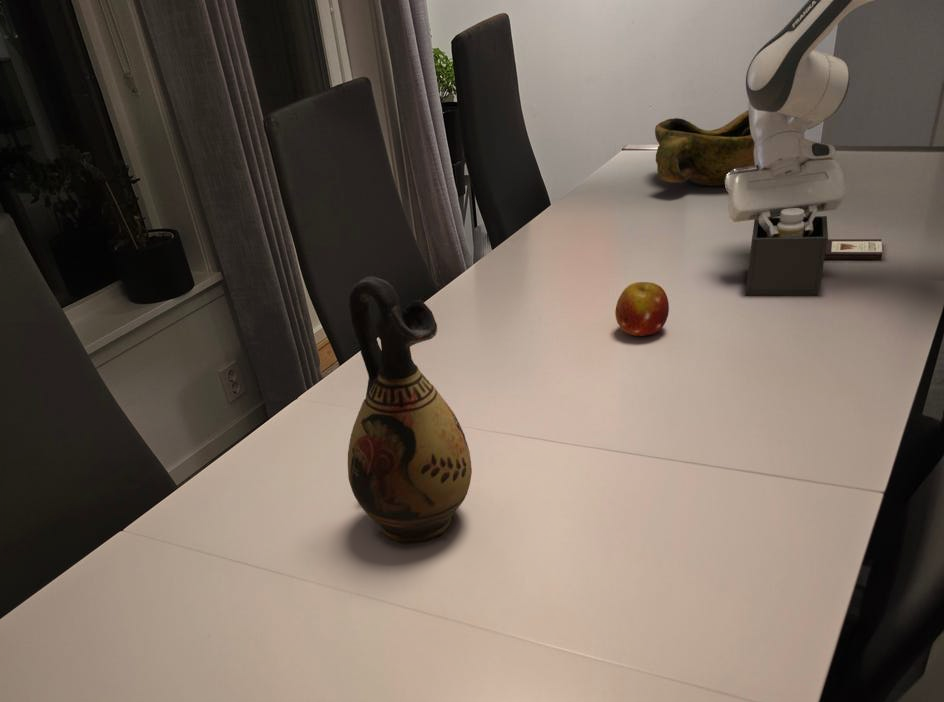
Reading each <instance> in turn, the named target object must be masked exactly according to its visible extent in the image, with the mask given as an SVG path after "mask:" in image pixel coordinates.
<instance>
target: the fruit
mask: <svg viewBox="0 0 944 702" xmlns="http://www.w3.org/2000/svg"><path fill="white" fill-rule="evenodd" d="M669 303H670V302H669V298H668V295H667V293H666V291H665V290H664V289H663V287H662V286H660V285H659V284H657V283H654V282H649V281H636V282H633V283H630V284H629V285H627V287H625V288H624V289H623V290H622V293H621V294H619V297H618V299H617V301H616V305H615V310H614V311H615V312H614V313H615V314H614V316H615V320H616V323H617V325H618V327H619V328H620V329H621V330H622V331H623V332H625V333H626V334H628V335H631V336H637V337H642V336H644V337H645V336H651V335H654V334H657V333H659V331H660V330H662V329H663V327H665V325H666V323H667V321H668V317H669V312H670V304H669Z"/></svg>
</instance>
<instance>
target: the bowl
mask: <svg viewBox="0 0 944 702" xmlns="http://www.w3.org/2000/svg"><path fill="white" fill-rule="evenodd" d="M748 110H749V109H747V110H746V111H744V112H742V113H740V114H739V115H738V116H737V117H735V118H734V119H733V120H730V122H728V123H726V124H725V125H722V126H721V127H719V128H716V129H711V130H707V129H703V128H700V127H698V126H697V125H695V124H694V123H692V122H691V121H689V120H686V119H683V118H679V117H674V118H668V119H665V120H663V121H660V122H658V123H657V124H656V125H655V128H654V134H655V139H656V141H657V143H658V146H657V150H656V153H655V162H656V165H657V167H656V168H657V169H656V172H657V174H658V177H659V179H660V180H662V181H663V182H666V183H684V182H686V181H687V180H690V181H691V182H692V183H693V184H697V185H702V186H711V187H715V186H722V187H723V186H725V177H726V175H727V174H728V173H729V172H731V171H732V169H735V168H745V167H750V166H755V162H754V154H753V151H754V140H753V138H752V136H751V132H750V124H749V111H748Z"/></svg>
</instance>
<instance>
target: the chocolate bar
mask: <svg viewBox="0 0 944 702" xmlns="http://www.w3.org/2000/svg"><path fill="white" fill-rule="evenodd" d="M882 256H883V245H882V239H881V238H852V239H851V238H850V239H848V238H847V239H846V238H845V239H843V238H842V239H841V238H839V239H838V238H837V239H835V238H833V239H832V238H828V242H827V248H826V254H825V259H824V260H882Z"/></svg>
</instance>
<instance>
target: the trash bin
mask: <svg viewBox="0 0 944 702" xmlns="http://www.w3.org/2000/svg"><path fill="white" fill-rule="evenodd" d="M808 219H809V217H808V218H805V216H804V218H803V220H802V221H803V222H807V221H808ZM769 220H770V222H771V223H772V225H773V226H777V225H778V223H779V222H780V217H772V218H769ZM753 221H754V222H753V229H752V235H751V243H750V252H749V261H748V269H747V277H746V286H745V296H819V294H820V288H821V283H822V282H821V281H822V277H823V270H824V266H825V265H824V264H825V260H826V259H825V254H826V248H827V242H828V239H829V232H828V231H829V230H828V217H827V215H822V216H821V215H815V217H814V220H813V222H812V224H813V232H812V233H811V235H807V236H803V237H776V238H767V232H766V231H765V230H764V229H763V228H762V227H761V226H760V224H759V219H755V220H753Z"/></svg>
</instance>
